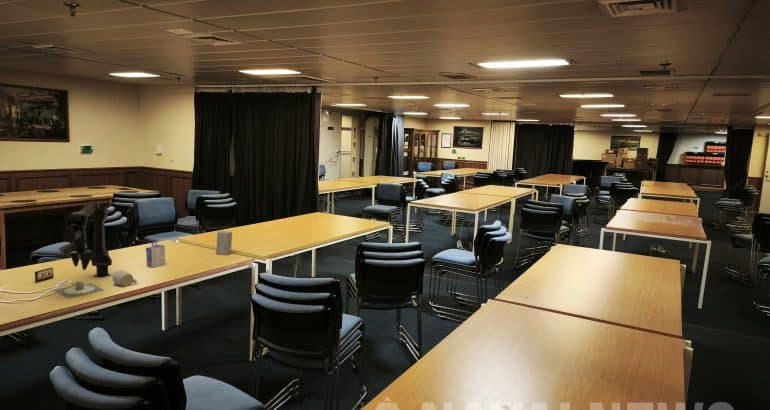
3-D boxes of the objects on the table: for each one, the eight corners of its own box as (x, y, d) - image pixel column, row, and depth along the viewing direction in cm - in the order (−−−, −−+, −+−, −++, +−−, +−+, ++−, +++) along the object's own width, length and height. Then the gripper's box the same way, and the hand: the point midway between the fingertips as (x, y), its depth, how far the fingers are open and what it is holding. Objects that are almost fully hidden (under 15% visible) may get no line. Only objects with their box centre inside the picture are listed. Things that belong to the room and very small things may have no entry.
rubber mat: (53, 291, 235) (53, 290, 235) (90, 283, 249) (90, 283, 249) (67, 299, 226) (67, 298, 226) (105, 291, 239) (105, 290, 239)
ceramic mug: (121, 288, 245) (121, 274, 244) (112, 285, 249) (112, 271, 248) (140, 284, 254) (140, 270, 253) (131, 281, 258) (131, 267, 257)
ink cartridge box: (159, 263, 294) (159, 240, 292) (165, 264, 292) (165, 241, 290) (145, 266, 285) (145, 243, 283) (152, 268, 283) (151, 244, 281)
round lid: (59, 290, 236) (59, 282, 235) (88, 284, 246) (87, 277, 246) (70, 296, 228) (70, 288, 228) (99, 290, 239) (99, 282, 238)
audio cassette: (51, 278, 256) (51, 267, 255) (53, 278, 255) (53, 267, 255) (34, 282, 247) (34, 271, 246) (36, 283, 246) (36, 272, 246)
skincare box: (215, 254, 322) (215, 231, 320) (221, 251, 329) (221, 230, 327) (227, 255, 321) (227, 232, 319) (232, 253, 328) (232, 230, 326)
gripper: (52, 237, 232) (53, 267, 235) (69, 243, 222) (70, 275, 224) (77, 234, 242) (78, 263, 244) (94, 240, 231) (95, 270, 233)
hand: (80, 268), depth 236 cm, fingers open, 9 cm apart
